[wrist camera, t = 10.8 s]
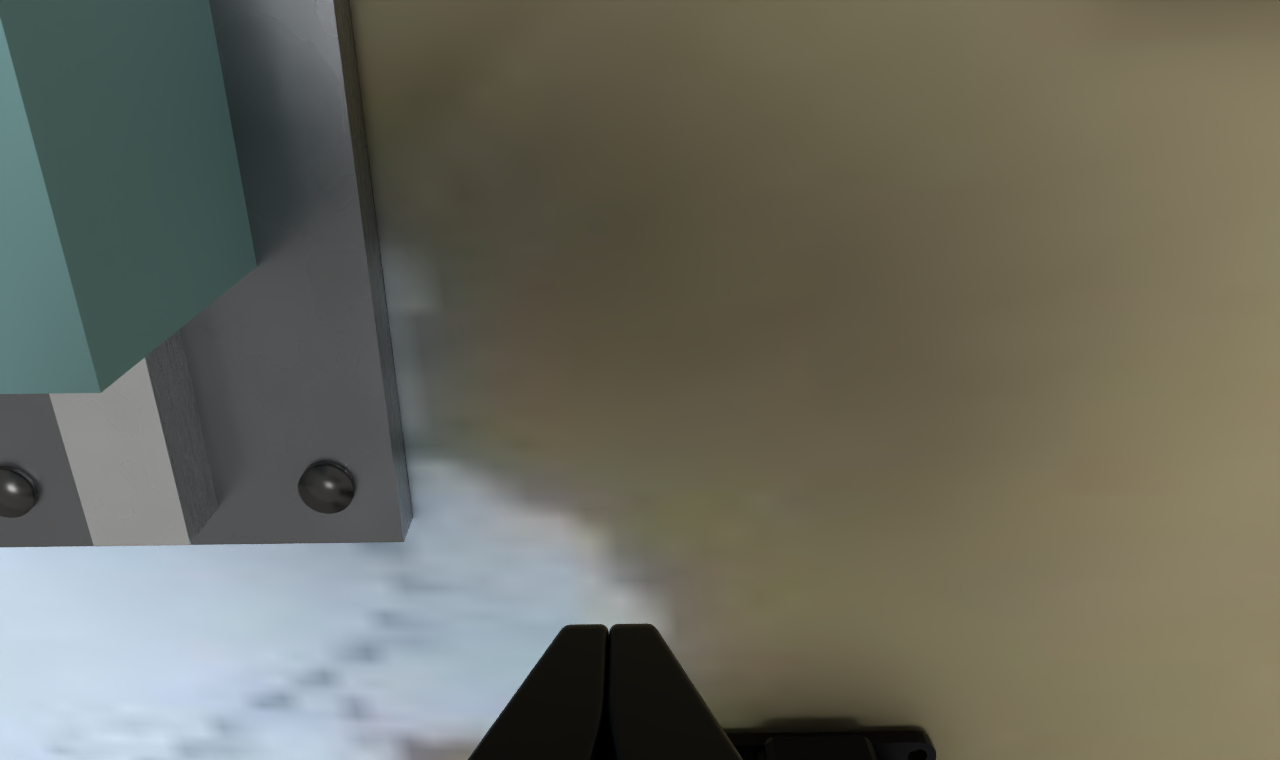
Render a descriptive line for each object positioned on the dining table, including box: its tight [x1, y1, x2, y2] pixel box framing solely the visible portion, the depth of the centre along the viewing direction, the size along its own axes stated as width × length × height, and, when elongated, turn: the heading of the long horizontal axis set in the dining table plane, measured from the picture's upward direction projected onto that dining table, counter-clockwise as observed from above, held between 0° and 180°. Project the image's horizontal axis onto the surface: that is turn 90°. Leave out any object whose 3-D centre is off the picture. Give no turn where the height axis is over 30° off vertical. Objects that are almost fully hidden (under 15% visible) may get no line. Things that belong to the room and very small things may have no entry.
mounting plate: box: [0, 0, 413, 547], centre depth 17 cm, size 20×10×2 cm, turn 0°
